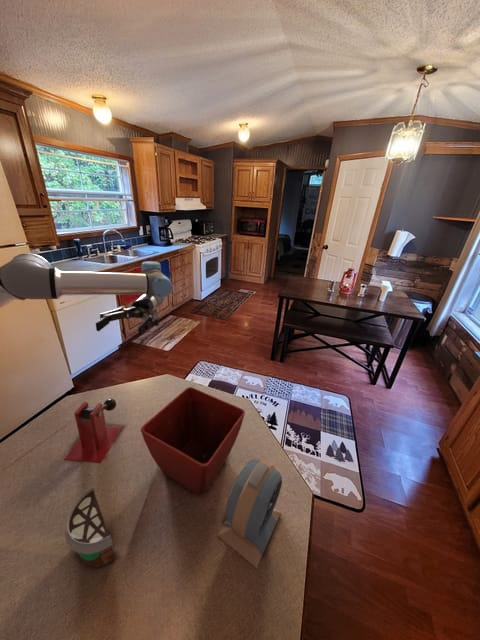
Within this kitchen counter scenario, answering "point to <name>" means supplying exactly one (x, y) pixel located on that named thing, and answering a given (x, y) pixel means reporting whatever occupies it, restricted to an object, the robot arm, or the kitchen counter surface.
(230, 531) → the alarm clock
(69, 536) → the multicoloured piece
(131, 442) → the kitchen counter surface
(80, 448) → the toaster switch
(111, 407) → the lever
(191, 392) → the flower pot
